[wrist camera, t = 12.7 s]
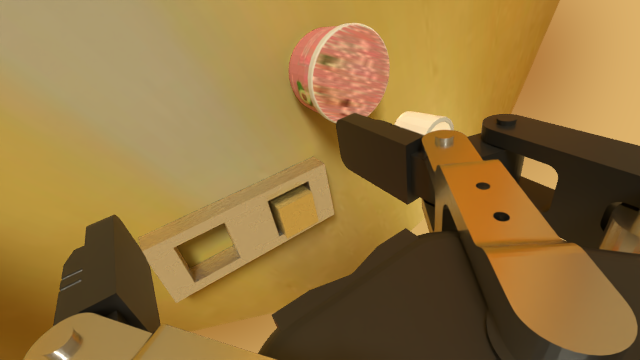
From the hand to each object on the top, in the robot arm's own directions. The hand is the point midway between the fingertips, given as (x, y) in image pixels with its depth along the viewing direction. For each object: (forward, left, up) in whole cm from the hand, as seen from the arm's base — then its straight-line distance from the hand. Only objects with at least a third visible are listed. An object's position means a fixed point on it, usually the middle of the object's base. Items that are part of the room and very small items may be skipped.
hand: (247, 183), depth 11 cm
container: (+18, -4, -26) cm, 32 cm away
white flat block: (+3, -20, -26) cm, 33 cm away
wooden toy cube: (+9, -20, -26) cm, 34 cm away
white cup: (+33, -18, -26) cm, 46 cm away
